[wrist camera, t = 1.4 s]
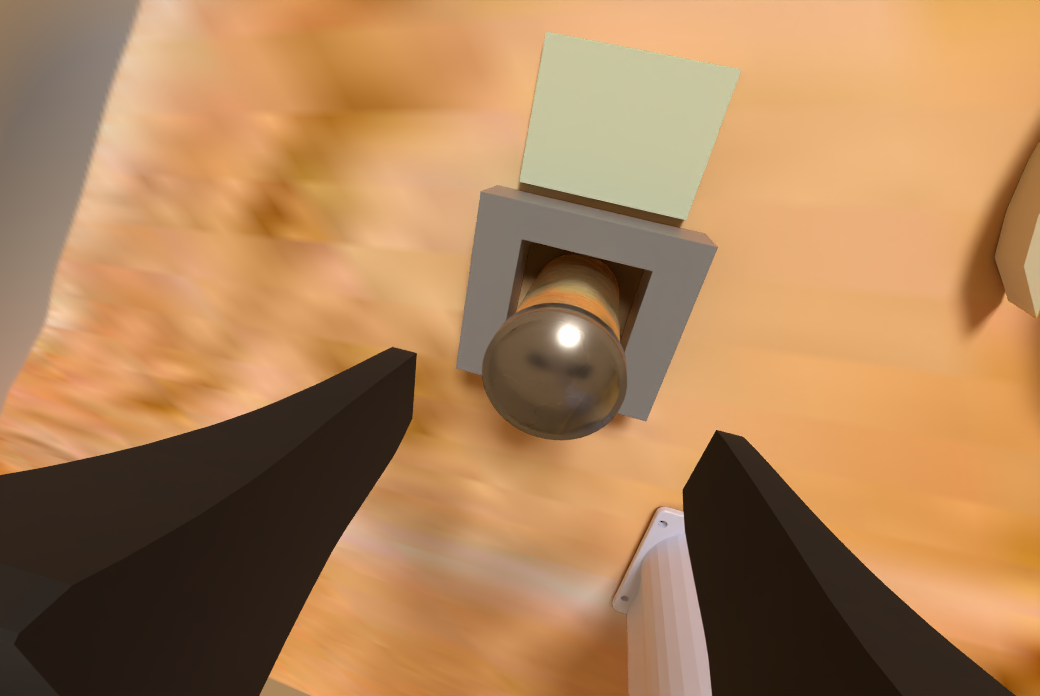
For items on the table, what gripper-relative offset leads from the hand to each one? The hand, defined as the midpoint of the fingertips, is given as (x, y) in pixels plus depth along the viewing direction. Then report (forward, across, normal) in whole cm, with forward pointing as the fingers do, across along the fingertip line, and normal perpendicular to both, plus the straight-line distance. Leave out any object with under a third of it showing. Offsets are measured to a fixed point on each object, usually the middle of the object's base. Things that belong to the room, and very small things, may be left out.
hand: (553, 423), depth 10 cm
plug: (+11, 0, +1) cm, 11 cm away
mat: (+11, 0, -6) cm, 12 cm away
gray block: (+11, 0, +1) cm, 11 cm away
